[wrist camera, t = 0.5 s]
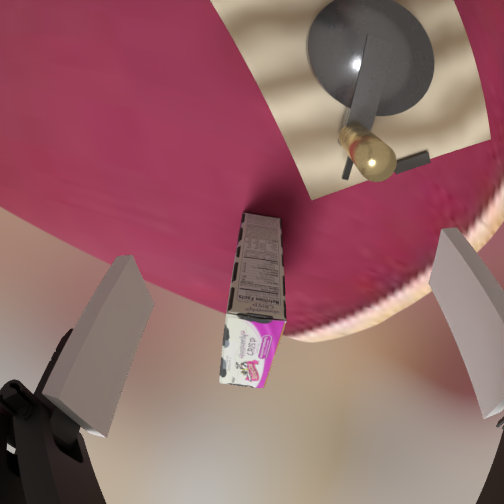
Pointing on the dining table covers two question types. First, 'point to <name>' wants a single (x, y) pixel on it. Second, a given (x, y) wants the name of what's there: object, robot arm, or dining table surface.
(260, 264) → the candy bar box
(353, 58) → the grey round handled piece
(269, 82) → the stand
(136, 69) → the dining table surface
